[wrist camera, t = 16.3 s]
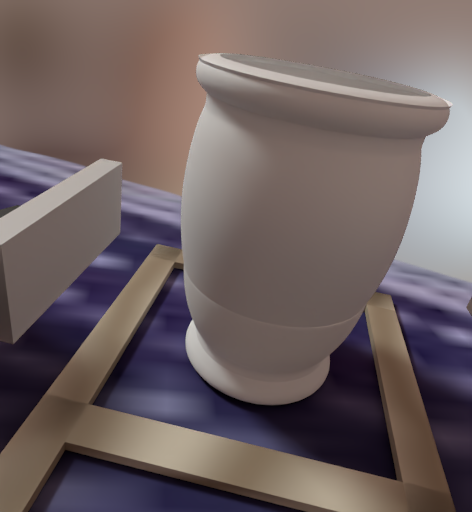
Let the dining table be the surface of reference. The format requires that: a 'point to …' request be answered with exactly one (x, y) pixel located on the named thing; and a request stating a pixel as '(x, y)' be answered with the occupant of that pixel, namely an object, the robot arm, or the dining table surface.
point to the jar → (292, 215)
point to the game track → (214, 447)
